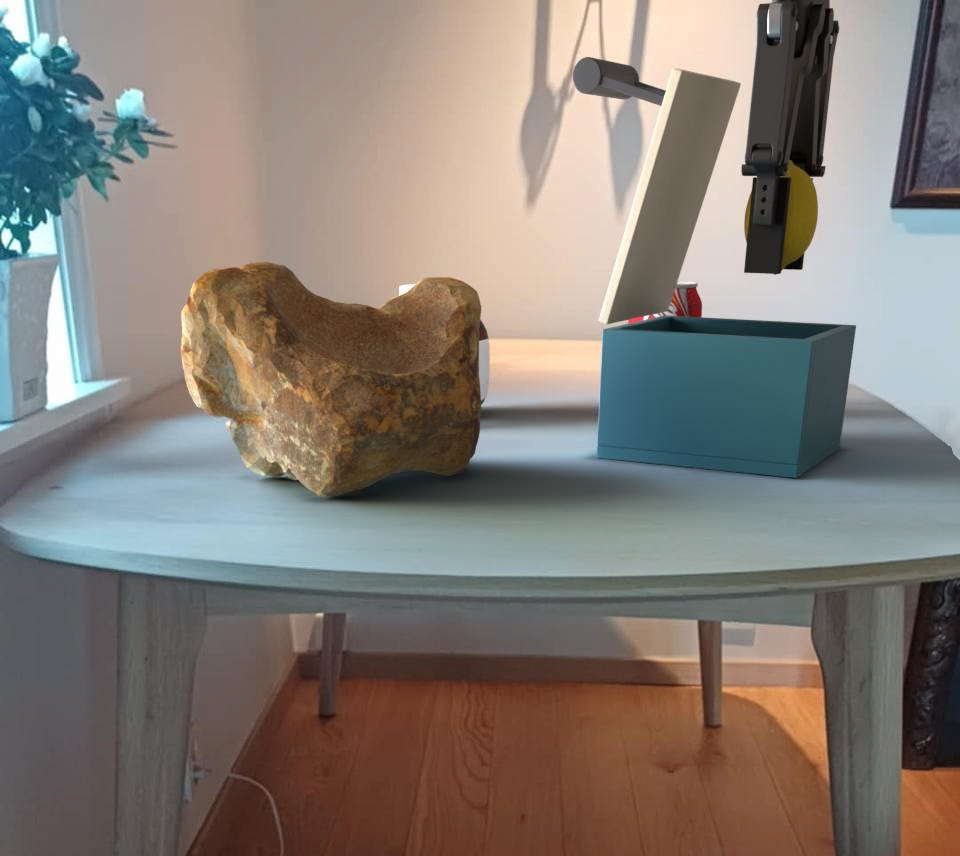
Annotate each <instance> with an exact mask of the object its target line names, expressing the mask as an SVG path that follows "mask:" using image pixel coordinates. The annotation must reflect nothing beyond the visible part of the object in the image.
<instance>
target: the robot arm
mask: <svg viewBox="0 0 960 856" xmlns="http://www.w3.org/2000/svg"><path fill="white" fill-rule="evenodd" d="M830 3H831V1H830V0H771V2H767V3H760V4H759V5H758V6H757V10H756V48H755V57H754V58H755V59H754V67H753V77H752V86H751V97H750V105H749V106H750V107H749V114H748V115H749V117H748V124H747V126H748V127H747V137H746V145H745V153H744V163H742V164H741V170H740V172H741V176H742V177H752V185H751V191H752V193H751V192H750V194H751V204H750V214H749V225H748V236H747V243H746V246H745V249H746V250H745V258H744V269H743V273H744V274H765V275H766V274H767V275H769V274H770V275H774V274H776V275H781V274H782V271H781V268H782V259H783V250H784V241H785V231H786V222H787V213H788V203H789V194H790V185H791V177H780V176H785V175H786V173H787V171H788V167H789V160H791V161H792V162H793V164H794V165H795V166H797V167H799V168H801V169H802V170H804V171H805V172H806V173H807V174H808V175H809V177H810V178H811V180H812V181H813V182H814V178H823V177H824V176H825V173H826V167H827V166H826V165H823V163H824V149H825V140H826V131H827V121H828V114H829V113H828V112H829V103H830V95H831V94H830V93H831V85H832V76H833V67H834V58H835V52H836V47H837V46H836V45H837V41H838V35H839V33H840V25H839V23H840V22H839V20H837V19H836V20H835V19H834V18H835V10H834V8H833V7H831V6H830V5H831V4H830ZM804 259H805V253H804V254H803V255H802V256H801V257H800V258H798V259H797V260H796V261H794V262H792V263H790V264H788V265H787V266H786V267H785V268H784V269H783V270H792V271H793V270H794V271H795V270H796V271H802V270H803V269H804Z"/></svg>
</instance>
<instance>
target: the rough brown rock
mask: <svg viewBox="0 0 960 856" xmlns="http://www.w3.org/2000/svg"><path fill="white" fill-rule="evenodd" d="M414 284H415V286H413V287H412V288H411V289H409V290H408V291H407V292H405V293H403V294H401V295H399V294H398V295H396V296H394V297H392V298H390V299H388V300H387V301H386V302H385V303H383V304H382V305H379V306H378V307H373V306H370V305H367V304H361V303H356V302H353V303H350V302H349V303H347V302H338V301H334V300H331V299H329V298H326V297H323V296H320V295H317V294H315V293H314V292H312V291H311V290H310V289H308V288H307V287H306V286H305V285H304V284H303V282H301V280H300V279H299V278H298V277H297V276H296V274H295V273H294V272H293V271H292V270H291V269H290V268H289V267H287V266H286V265H284V264H279V263H274V262H269V261H258V262H249V263H246V264H244V265H242V266H240V267H237V266H236V267H235V266H226V267H220V268H213V269H210V270H208V271H206V272H204V273H203V274H202V275H201V276H200V277H198V278H197V279H196V280H195V281H193V284H192V286H191V289H190V293H189V295H188V298H187V302H186V304H185V305H184V307H183V308H182V310H181V331H182V332H181V347H180V355H181V356H180V357H181V362H182V363H181V364H182V369H183V372H184V381H185V383H186V386H187V390H188V393H189V395H190V397H191V399H192V401H193V403H194V404H195V406H196V407H197V408H198V409H200V410H202V411H203V412H205V413H206V414H207V415H209V416H212V417H214V418H217V419H219V420H221V421H222V422H224V423H225V425H226V427H227V429H228V431H229V433H230V436H231V439H232V441H233V443H234V445H235V447H236V448H237V451H238V453H239V456H240V458H241V460H242V462H243V464H244V465H245V467H246V468H247V469H248V470H250V471H251V472H253V473H255V474H257V475H259V476H262V477H270V478H281V477H282V476H283V477H284V476H286V477H287V478H288V479H290V480H293V481H299V482H300V483H301V485H303V486H304V487H305V488H306V489H307V490H309V491H311V492H313V493H315V495H317V496H318V497H321V498H327V499H328V498H333V497H337V496H339V495H343V494H348V493H352V492H356V491H359V490H362V489H365V488H368V487H370V486H371V485H373V484H375V483H377V482H379V481H381V480H383V479H385V478H388V477H389V476H392V475H394V474H399V473H403V472H415V471H424V472H428V473H429V472H430V473H433V474H438V475H441V476H449V477H451V476H454V475H458V474H461V473H463V472H464V470H465V469H466V468H467V467H468V466H469V464H470V461H471V459H472V458H473V456H474V455H475V454H476V451H477V450H476V449H477V445H478V442H479V439H480V435H481V410H482V405H481V392H480V380H479V326H480V319H481V316H482V304H481V300H480V299H481V298H480V295H479V293H478V291H477V290H476V289H475V288H473V286H471V285H470V284H468V283H466V282H465V281H463V280H461V279H457V278H453V277H451V276H447V277H445V276H443V277H439V276H438V277H437V276H435V277H431V276H429V277H428V276H427V277H424V278H422V279H419V280H418V281H417V282H416V283H414Z"/></svg>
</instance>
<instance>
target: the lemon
mask: <svg viewBox="0 0 960 856" xmlns="http://www.w3.org/2000/svg"><path fill="white" fill-rule="evenodd" d="M780 177H791V185H790V194H789V203H788V213H787V222H786V231H785V241H784V250H783V259H782V268H781V272H782V271H783V270H785V269H784V268H785V267H786V266H787V265H788V264H790V263H792V262H794V261H796V260H797V259H798V258H800V257H801V256H802V255H803V254H804V255H805V252H807V250H808V249H809V247H810V245H811V243H812V241H813V239H814V236H815V233H816V229H817V225H818V215H819V203H818V194H817V189H816V186H815V183H814V180H813V181H812V180H811V178H812V177H809V175H808V174H807V173H806V172H805V171H804V170H802V169H801V168H799V167H797V166H795V165H794V164H793V162H792V161H791V160H789V167H788V171H787V173H786V175H785V176H780ZM751 193H752V190H751V191H750V193H749V196H748V200H747V204H746V207H745V212H744V223H743V225H744V226H743V227H744V238H745V243H746V244H747V236H748V225H749V214H750V204H751ZM773 275H774V276H776V275H777V274H773Z"/></svg>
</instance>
